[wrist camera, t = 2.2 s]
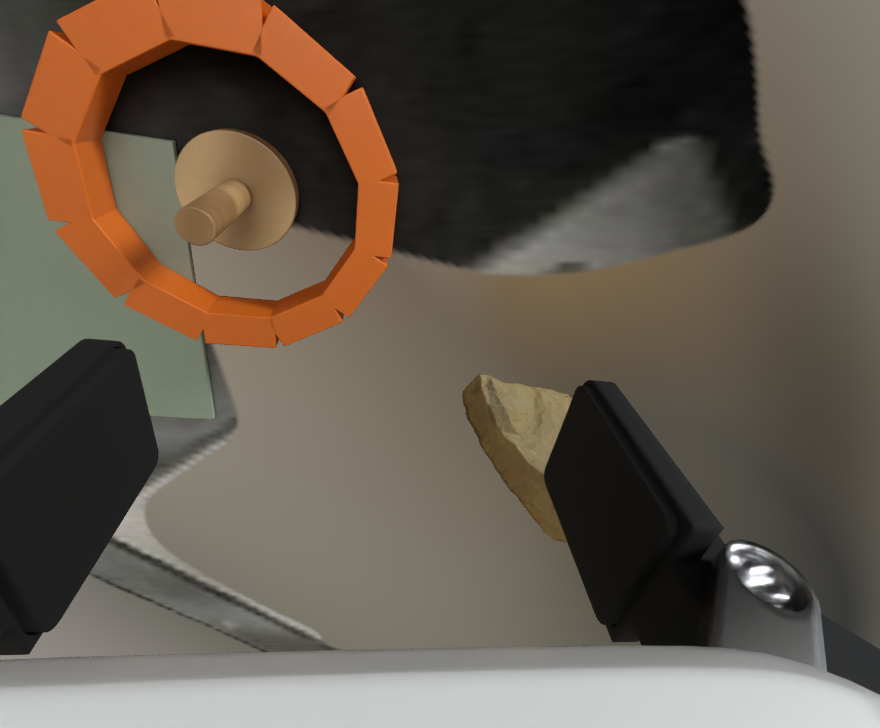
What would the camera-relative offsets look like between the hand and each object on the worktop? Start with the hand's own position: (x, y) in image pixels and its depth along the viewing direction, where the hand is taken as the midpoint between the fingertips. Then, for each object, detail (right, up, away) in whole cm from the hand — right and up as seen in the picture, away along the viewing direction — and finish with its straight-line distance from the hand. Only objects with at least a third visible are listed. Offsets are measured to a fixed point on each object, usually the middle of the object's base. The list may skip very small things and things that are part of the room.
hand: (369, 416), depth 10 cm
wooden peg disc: (-9, +11, +14) cm, 20 cm away
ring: (-9, +10, +14) cm, 20 cm away
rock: (+8, -2, +24) cm, 26 cm away
